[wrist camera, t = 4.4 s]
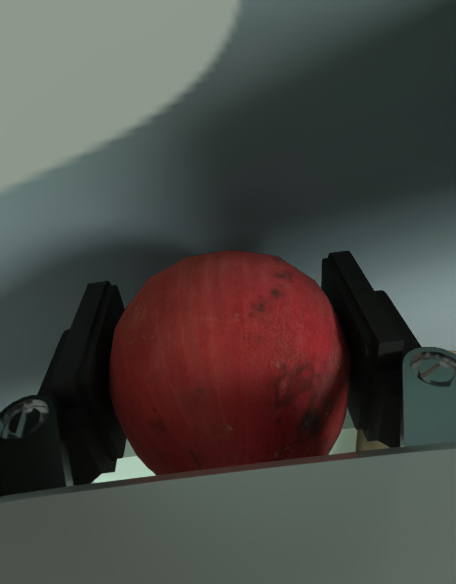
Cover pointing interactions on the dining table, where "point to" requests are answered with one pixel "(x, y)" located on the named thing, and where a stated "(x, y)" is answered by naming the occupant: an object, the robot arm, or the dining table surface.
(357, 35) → the dining table surface
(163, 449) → the red round fruit
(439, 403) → the robot arm
